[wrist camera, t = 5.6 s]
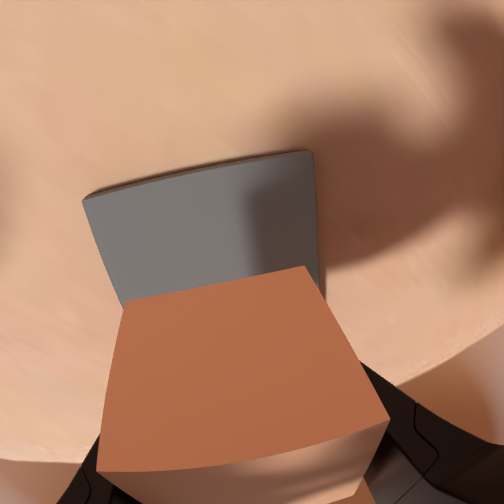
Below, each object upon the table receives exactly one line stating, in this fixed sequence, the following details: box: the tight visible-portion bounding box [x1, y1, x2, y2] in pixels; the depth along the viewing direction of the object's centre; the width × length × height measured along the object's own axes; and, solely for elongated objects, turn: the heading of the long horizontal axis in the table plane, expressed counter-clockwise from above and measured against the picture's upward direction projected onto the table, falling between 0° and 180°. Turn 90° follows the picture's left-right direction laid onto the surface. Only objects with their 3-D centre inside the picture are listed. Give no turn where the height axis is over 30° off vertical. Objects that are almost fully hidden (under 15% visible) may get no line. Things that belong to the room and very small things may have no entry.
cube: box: [96, 266, 390, 504], centre depth 7 cm, size 5×5×5 cm
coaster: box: [82, 150, 319, 310], centre depth 14 cm, size 9×9×1 cm
